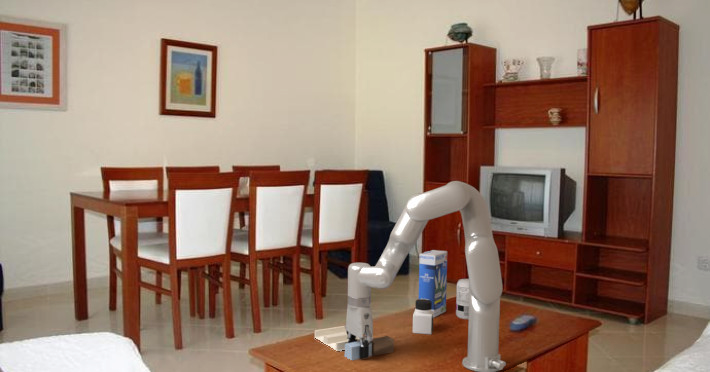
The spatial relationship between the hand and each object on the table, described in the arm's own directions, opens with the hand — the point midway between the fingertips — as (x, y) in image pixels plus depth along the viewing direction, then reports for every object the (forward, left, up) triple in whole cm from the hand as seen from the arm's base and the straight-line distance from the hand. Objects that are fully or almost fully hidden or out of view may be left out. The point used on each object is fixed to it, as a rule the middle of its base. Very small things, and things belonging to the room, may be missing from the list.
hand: (358, 354), depth 195 cm
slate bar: (0, 0, -1) cm, 1 cm away
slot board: (+15, -3, -1) cm, 15 cm away
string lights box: (+29, -55, -1) cm, 62 cm away
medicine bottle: (+11, -36, -1) cm, 38 cm away
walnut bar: (0, -9, -1) cm, 9 cm away
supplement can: (+18, -64, -1) cm, 67 cm away
